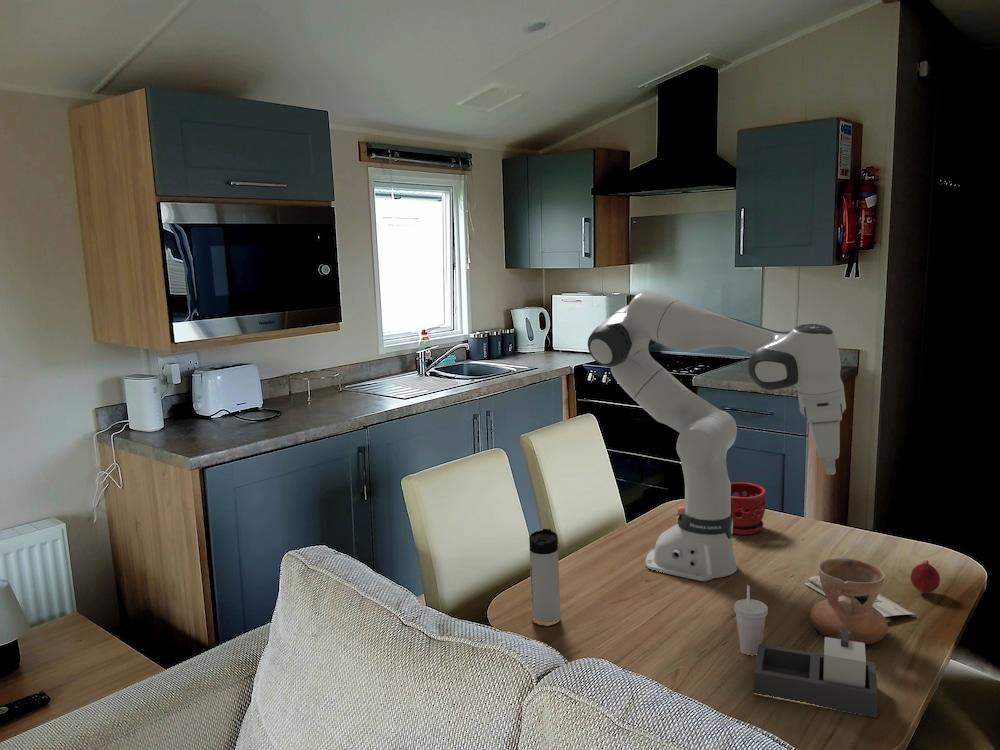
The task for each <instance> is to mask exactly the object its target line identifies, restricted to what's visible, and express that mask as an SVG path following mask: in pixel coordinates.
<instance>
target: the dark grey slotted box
mask: <svg viewBox="0 0 1000 750" xmlns="http://www.w3.org/2000/svg"><path fill="white" fill-rule="evenodd" d="M823 645H824V647H823V648H824V649H823V651H824V652H823V653H817V652H811V651H807V650H805V651H804V650H800V649H799V650H798V649H793V648H787V647H781V646H774V645H769V644H763V643H761V644H759V646H758V652H757V656H755V657H756V658H755V662H754V668H753V693H757V694H762V695H769V696H772V697H773V696H774V697H780V698H784V699H790V700H795V701H800V702H806V703H810V704H815V705H819V706H823V707H828V708H832V709H836V710H840V711H845V712H849V713H848V714H851V713H856V714H861V715H864V716H863V717H866V716H869V717H868V718H872V717H873V719H878V705H879V704H878V703H879V702H878V701H879V699H878V698H879V691H878V680H877V670H876V669H877V668H876V662H872V661H867V656H866V644H865V643H861V642H855V641H848V630H842V629H841V639H835V638H829V637H826V636H824V644H823ZM840 711H839V712H840ZM845 712H844V713H845ZM850 712H851V713H850ZM856 714H855V715H856ZM861 715H860V716H861Z"/></svg>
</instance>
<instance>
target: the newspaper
mask: <svg viewBox="0 0 1000 750" xmlns="http://www.w3.org/2000/svg"><path fill="white" fill-rule="evenodd" d="M808 581H809V582H804V585H806V586H808V587H809V588H811V589H813V590H815V591H816V592H818V593H820V594H822V595H824V596H825V597H826V595H825V593H824V591H823V588H822V585H821V581H820V577H819V575H815V576H811V577H810V578H808ZM872 607H874V608H875V609H876V610H878V611H879V612H880V613H881V614H882V615H883V616H884V617H885V619H886V621H887V623H889V622H891V621H892V619H890V618H888V617H894V616H895V617H896V616H905V615H909V616H910V617H913V618H916V617H917V614H915V613H913V612H912V611H910V610H908V609H906V608H905V607H903V606H901V605H899V604H897V603H896V602H894V601H892V600H890V599H889V598H887V597H885V596H883V595H882V594H881V593H879V594H878V596H877V598H876V600H875V602H874V603H873V605H872Z"/></svg>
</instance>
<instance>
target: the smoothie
mask: <svg viewBox="0 0 1000 750" xmlns="http://www.w3.org/2000/svg"><path fill="white" fill-rule="evenodd" d="M750 591H751V586H750V585H749V584H747V585H746V598H743V599H738V600H737V601H735V602H734V603H733V604H734V605H733V610H734V612H735V614H736V615H735V616H736V623H737V632H738V640H739V647H740V652H741V651H742V652H743V653H745V654H749V655H756V654H757V652H758V646H759V644H763V636H764V629H765V624H766V623H765V622H766V616H767V615H768V613H769V610H768V605H767V604H765V602H762V601H760V600H757V599H754V598H752V599H751V598H750V597H751V595H750V594H751V593H750ZM742 652H741V653H742ZM743 653H742V654H743ZM745 654H744V655H745Z"/></svg>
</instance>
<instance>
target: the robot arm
mask: <svg viewBox="0 0 1000 750" xmlns="http://www.w3.org/2000/svg"><path fill="white" fill-rule="evenodd" d="M656 343H658V344H660V345H662V346H664V347H667V348H668V349H670V350H671V349H672V350H676V351H679V352H686V353H689V352H691V353H692V352H696V351H702V350H705V349H710V348H711V349H713V348H717V347H728V348H734V349H738V350H740V351H743V352H747V353H750V354H751V355H750V356H749V359H748V362H747V370H748V374H749V376H750V377H751V380H752V381H753V382H754V384H755V385H756V386H758V387H759V388H761V389H764V390H768V391H772V390H780V389H785V388H789V387H795V388H796V390H797V391H796V392H797V398H798V405H799V407H798V408H799V412H800V413H801V415H803V416H804V417H805V419H806V422H807V423H808V424H809V425H810V429H811V432H812V436H813V440H814V444H815V448H816V452H817V455H818V457H819V459H820V460H821V461H823V462H824V466H825V474H826V475H828V476H831V475H835V474H836V473H837V471H836V470H837V469H836V460H837V459H839V457H840V452H841V451H840V450H841V449H840V446H841V445H840V442H841V440H840V439H841V438H840V437H841V435H840V430H841V428H840V425H841V424H840V422H841V421H842V420H843V414H844V412H845V411H846V409H847V403H846V402H847V401H846V396H845V386H844V385H845V384H844V382H843V380H842V377H841V369H842V361H841V360H842V359H841V355H840V350H839V349H840V348H839V344H838V341H837V338H836V335H835V333H834V331H833V330H832V328H830V327H828V326H826V325H824V324H823V325H822V324H818V323H808V324H800V325H797V326H795V327H794V328H793V329H792V330H787V331H777V330H773V329H770V328H766V327H764V326H763V327H762V326H761V325H760V326H759V325H757V324H754V323H750V322H746V321H744V320H740V319H737V318H734V317H729V316H726V315H724V314H723V315H722V314H719V313H716V312H713V311H710V310H707V309H704V308H701V307H699V306H696V305H694V304H691V303H688V302H685V301H683V300H680V299H678V298H674V297H671V296H669V295H665V294H660V293H655V292H648V291H644V292H640V293H638V294H636V295H635V296H634V297H632V298H631V301H630V302H628V303H627V304H626V305H625V306H623V307H622V308H620V309H618V310H617V311H615V312H613V313H612V314H610V315H609V317H607V319H606V320H604V321H603V323H601V324H600V325H598V326H597V327H595V329H594V330H593V331H592V332H591V334H590V335H589V337H588V339H587V348H588V351H589V355H590V356H591V357H592V358H593V360H594V361H595V362H596V363H598V364H599V365H601V366H602V367H607V368H610V373H611V375H612V377H613V378H614V379H615V380H616V382H617V384H619V386H620V387H621V388H622V390H624V392H625V393H626V394H627V395H628V396H629V397H630V398H631V399H632V400H633V401H634V402H636V404H637V405H639V406H640V407H641V408H642V409H643V410H644V411H645V412H647V413H648V414H649V416H651V418H652V419H654V420H655V421H656V422H658V423H660V424H664V425H666V426H668V427H670V428H671V429H673V430H675V431H676V432H677V433H679V435H678V438H677V441H676V444H675V445H676V447H675V449H676V453H677V456H678V458H679V459H680V465H681V468H682V473H683V479H684V506H683V505H681V506H680V507H679V508H678V510H677V514H676V524H674V525H673V526H671V527H670V528H668V529H667V530H665V531H663V532H662V533H661V534H660V535H659V537H658V538H657V539H656V542H655V545H654V548H653V549H651V550H650V551H649V552H648V553H647V555H646V557H645V563H646V564H645V567H646V566H647V567H648V568H649V569H652V570H651V571H653V570H656V571H655V572H658V571H659V572H658V573H662V572H663V573H662V574H667V575H672V576H677V577H682V578H685V579H690V580H695V581H699V582H708V581H710V580H713V579H718V578H724V577H725V578H726V577H727V576H731V575H733V574H734V573H736V572H737V570H738V565H737V561H736V558H735V557H736V556H735V554H734V549H733V548H734V547H733V540H732V539H733V538H732V537H733V534H734V533H733V515H732V513H731V483H732V482H731V481H730V478H729V474H728V473H729V472H728V467H727V452H728V450H729V449H731V447H732V446H733V445H734V444H735V441H736V440H737V435H738V434H737V433H738V428H737V427H738V426H737V423H736V420H735V419H734V417H733V415H731V414H730V413H728V412H727V411H725V410H723V409H722V410H721V409H720V408H718V407H716V406H715V405H713V404H712V403H710V402H709V401H707V400H706V399H704V398H703V397H700V395H698V394H696V393H694V392H693V391H691V390H690V389H689V388H688V387H686V386H685V385H684V384H683V383H682V382H680V381H679V380H678V379H677V378H676V377H675V376H674V375H673V374H671V372H669V371H668V370H667V369H666V368H665V367H663V366H662V365H661V364H660V363H659V361H657V360H655V359H654V358H653V357H652V355H651V353H650V351H649V347H652V346H654V345H655V344H656ZM647 567H646V568H647ZM648 568H647V569H648ZM649 569H648V570H649Z"/></svg>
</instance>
